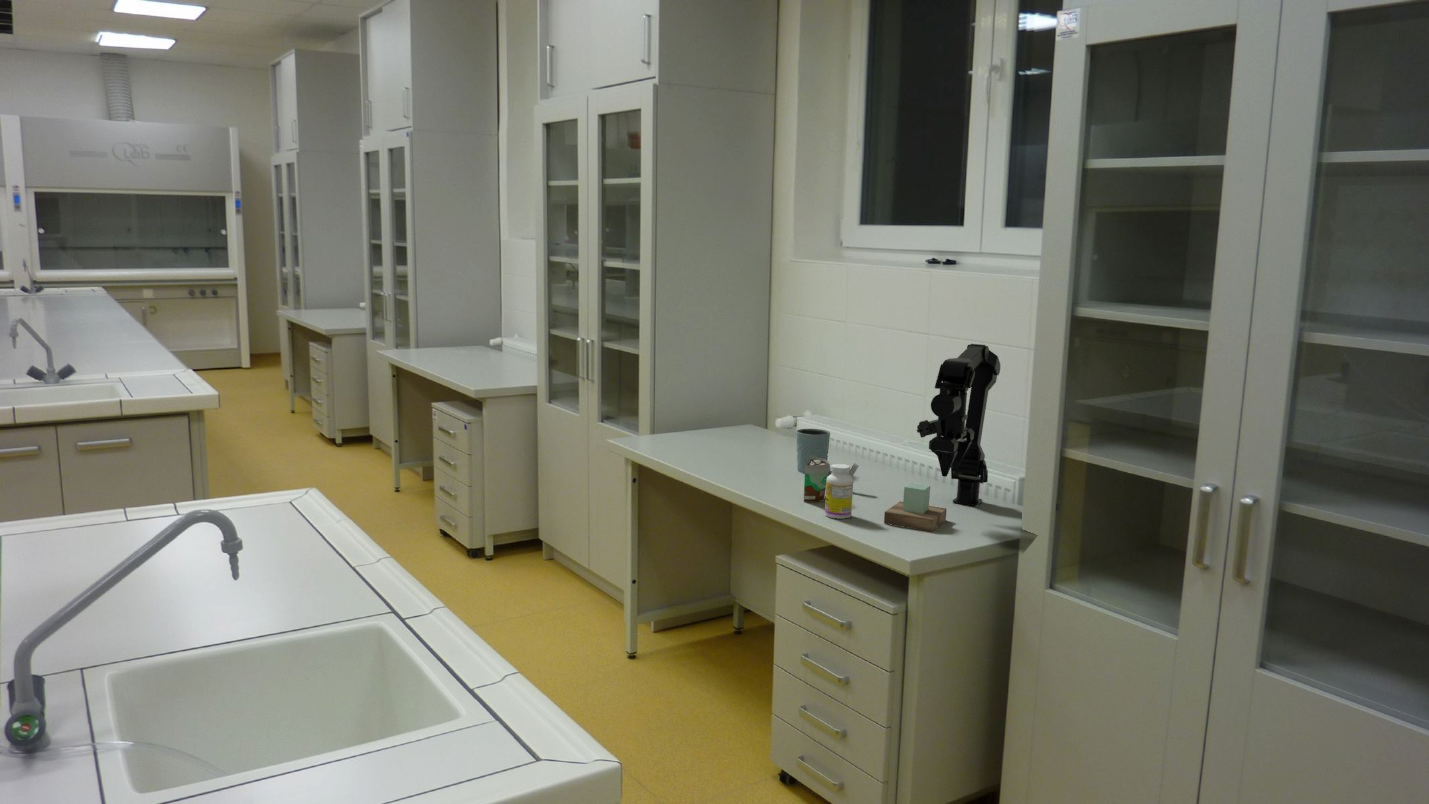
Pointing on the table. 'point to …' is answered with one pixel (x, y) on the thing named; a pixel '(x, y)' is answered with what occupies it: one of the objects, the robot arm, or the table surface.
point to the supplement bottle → (839, 492)
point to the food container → (815, 479)
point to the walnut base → (915, 517)
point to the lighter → (853, 469)
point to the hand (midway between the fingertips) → (949, 472)
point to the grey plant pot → (811, 446)
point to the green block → (916, 498)
